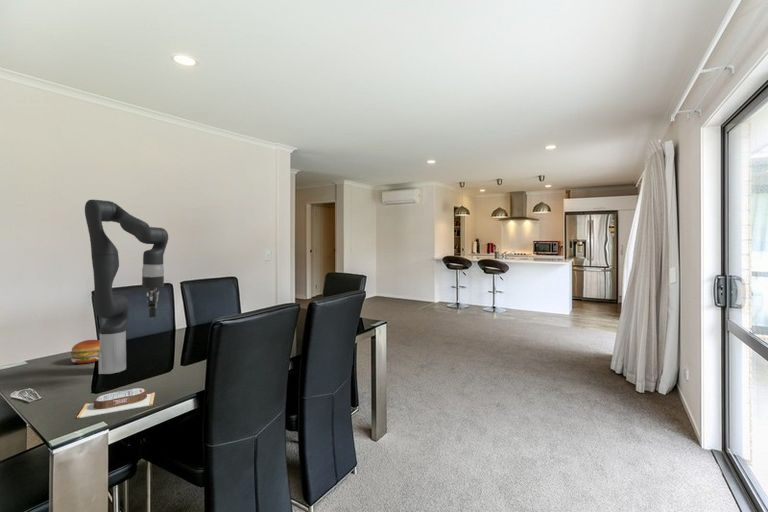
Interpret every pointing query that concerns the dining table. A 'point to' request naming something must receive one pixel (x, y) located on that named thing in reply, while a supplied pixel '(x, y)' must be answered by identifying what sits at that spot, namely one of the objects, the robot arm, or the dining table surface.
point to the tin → (120, 398)
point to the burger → (86, 351)
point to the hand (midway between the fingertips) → (152, 316)
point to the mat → (91, 411)
